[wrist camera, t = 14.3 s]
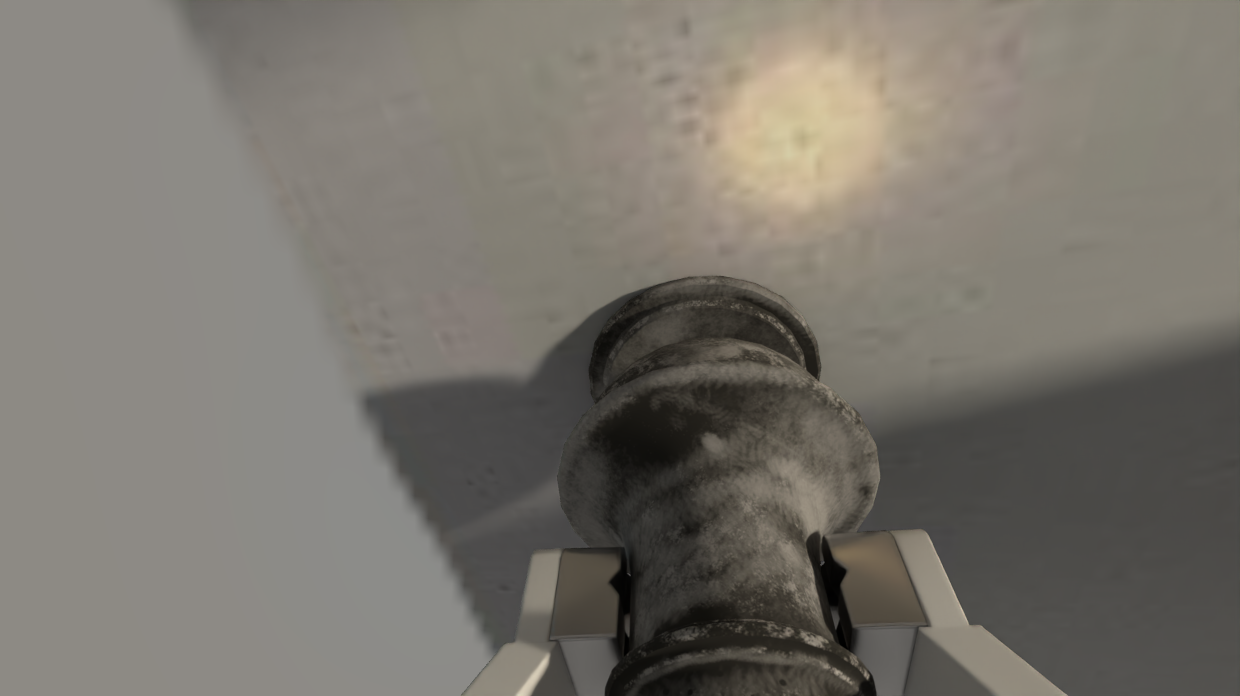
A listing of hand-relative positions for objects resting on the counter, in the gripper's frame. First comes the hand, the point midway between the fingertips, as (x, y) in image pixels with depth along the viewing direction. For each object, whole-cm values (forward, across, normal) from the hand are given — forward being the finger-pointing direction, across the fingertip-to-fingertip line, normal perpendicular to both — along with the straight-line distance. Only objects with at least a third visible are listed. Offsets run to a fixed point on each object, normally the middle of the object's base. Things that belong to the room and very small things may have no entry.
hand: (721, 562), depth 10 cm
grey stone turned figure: (+5, 0, 0) cm, 5 cm away
